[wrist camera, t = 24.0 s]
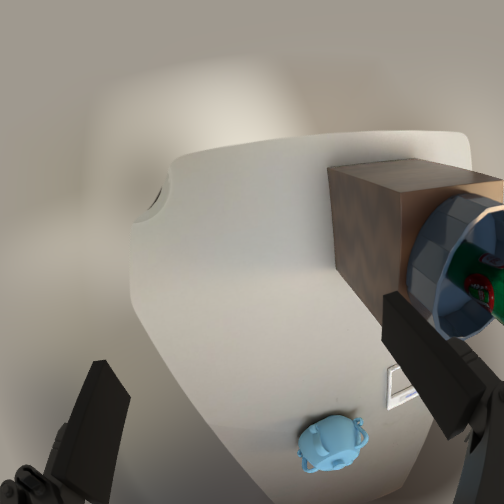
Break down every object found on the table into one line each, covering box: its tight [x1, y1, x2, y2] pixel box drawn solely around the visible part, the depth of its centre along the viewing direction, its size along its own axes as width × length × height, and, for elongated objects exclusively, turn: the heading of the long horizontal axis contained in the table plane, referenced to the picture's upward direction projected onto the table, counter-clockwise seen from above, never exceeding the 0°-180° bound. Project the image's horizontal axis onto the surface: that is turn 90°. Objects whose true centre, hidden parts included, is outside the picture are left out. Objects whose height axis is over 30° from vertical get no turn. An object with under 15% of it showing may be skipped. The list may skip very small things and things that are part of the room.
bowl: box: [406, 193, 504, 341], centre depth 25 cm, size 15×15×5 cm
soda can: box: [448, 242, 504, 325], centre depth 21 cm, size 5×5×12 cm
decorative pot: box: [297, 415, 369, 473], centre depth 60 cm, size 16×16×14 cm
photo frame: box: [387, 364, 419, 410], centre depth 63 cm, size 15×1×18 cm
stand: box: [327, 159, 503, 326], centre depth 36 cm, size 17×17×20 cm
